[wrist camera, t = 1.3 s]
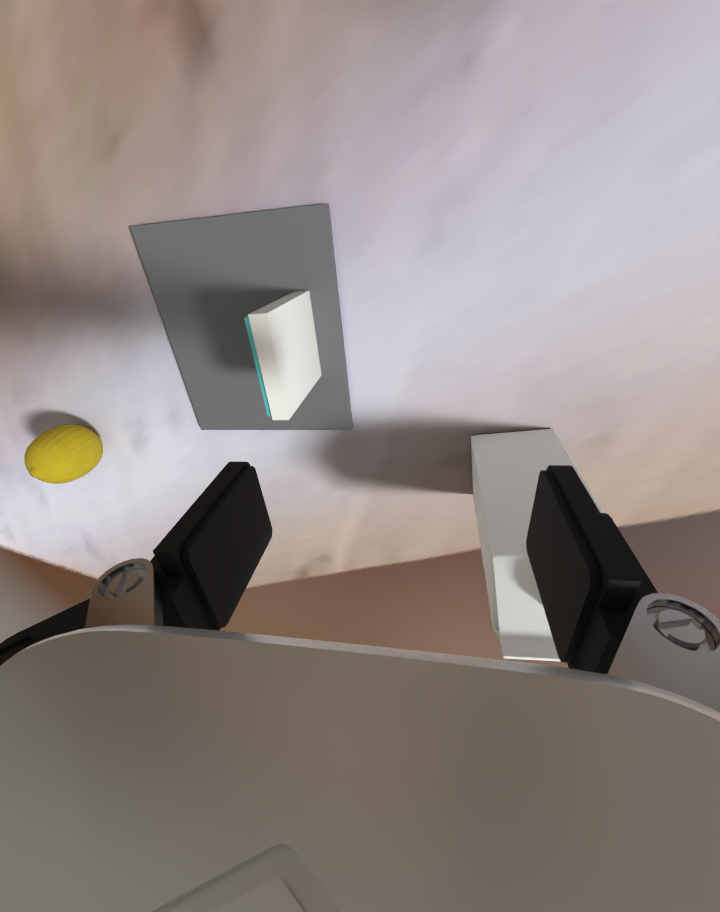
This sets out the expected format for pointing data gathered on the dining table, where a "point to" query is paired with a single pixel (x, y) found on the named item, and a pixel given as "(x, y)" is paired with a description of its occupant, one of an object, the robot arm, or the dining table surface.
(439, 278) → the dining table surface
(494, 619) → the milk carton
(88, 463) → the lemon
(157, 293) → the mat
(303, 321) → the tile
